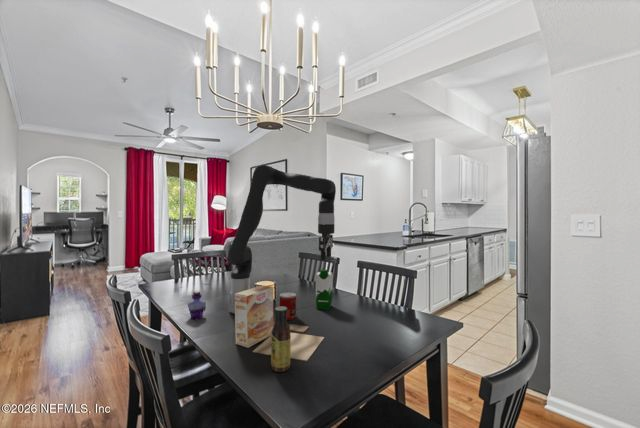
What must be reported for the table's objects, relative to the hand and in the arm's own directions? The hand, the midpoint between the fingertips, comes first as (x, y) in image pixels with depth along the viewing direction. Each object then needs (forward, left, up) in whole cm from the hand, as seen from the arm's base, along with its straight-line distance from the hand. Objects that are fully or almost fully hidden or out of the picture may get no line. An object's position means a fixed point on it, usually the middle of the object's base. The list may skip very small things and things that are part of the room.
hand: (326, 258), depth 141 cm
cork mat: (-6, -27, -29) cm, 40 cm away
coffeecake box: (-21, -27, -29) cm, 45 cm away
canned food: (-19, 0, -30) cm, 35 cm away
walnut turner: (-15, -12, -29) cm, 35 cm away
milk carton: (-7, +20, -30) cm, 36 cm away
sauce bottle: (-2, -44, -30) cm, 53 cm away
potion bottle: (-60, -14, -30) cm, 68 cm away
